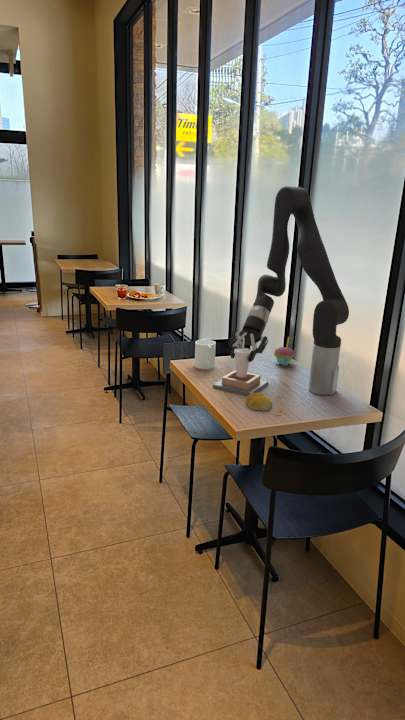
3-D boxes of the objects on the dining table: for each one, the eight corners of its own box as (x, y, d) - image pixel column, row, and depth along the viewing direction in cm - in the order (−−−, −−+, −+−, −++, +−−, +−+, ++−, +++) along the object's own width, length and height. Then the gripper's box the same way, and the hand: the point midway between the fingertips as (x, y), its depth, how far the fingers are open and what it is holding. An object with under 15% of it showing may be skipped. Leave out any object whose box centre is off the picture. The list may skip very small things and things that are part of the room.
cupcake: (281, 359, 209) (284, 332, 206) (297, 364, 204) (300, 337, 200) (269, 363, 204) (271, 335, 200) (285, 368, 198) (287, 340, 194)
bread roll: (254, 412, 154) (254, 401, 153) (241, 402, 162) (242, 391, 160) (276, 410, 157) (277, 398, 155) (263, 399, 165) (264, 388, 163)
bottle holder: (268, 384, 179) (268, 374, 178) (251, 396, 166) (251, 386, 165) (231, 376, 186) (232, 367, 185) (212, 387, 173) (213, 377, 172)
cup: (199, 372, 188) (200, 348, 185) (192, 363, 199) (193, 339, 196) (220, 371, 191) (221, 347, 188) (211, 362, 202) (212, 339, 199)
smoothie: (250, 373, 178) (252, 336, 174) (250, 379, 172) (253, 341, 167) (232, 372, 178) (235, 335, 174) (232, 378, 172) (234, 340, 168)
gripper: (236, 312, 178) (219, 350, 172) (272, 318, 171) (256, 357, 165) (241, 323, 184) (225, 360, 178) (277, 329, 177) (261, 368, 171)
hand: (240, 359), depth 172 cm, fingers closed on smoothie, 6 cm apart
